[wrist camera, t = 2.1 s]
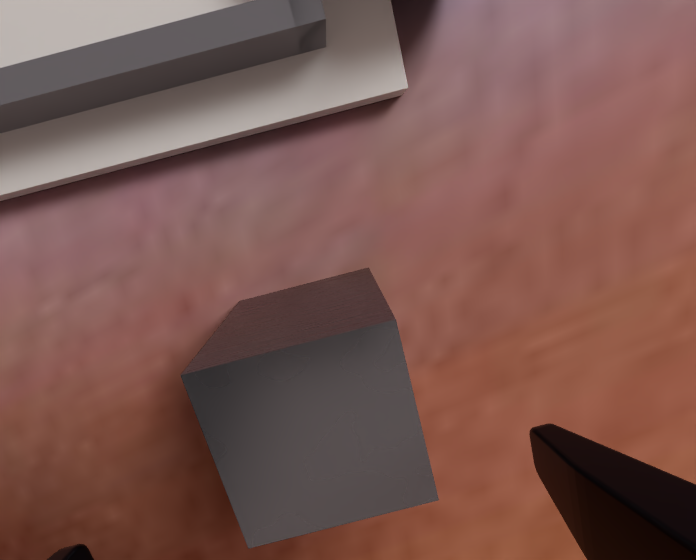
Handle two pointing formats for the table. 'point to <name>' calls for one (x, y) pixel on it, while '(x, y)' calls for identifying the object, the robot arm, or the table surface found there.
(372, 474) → the dark grey cube
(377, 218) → the table surface
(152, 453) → the table surface
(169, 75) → the toy car chassis
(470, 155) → the table surface
